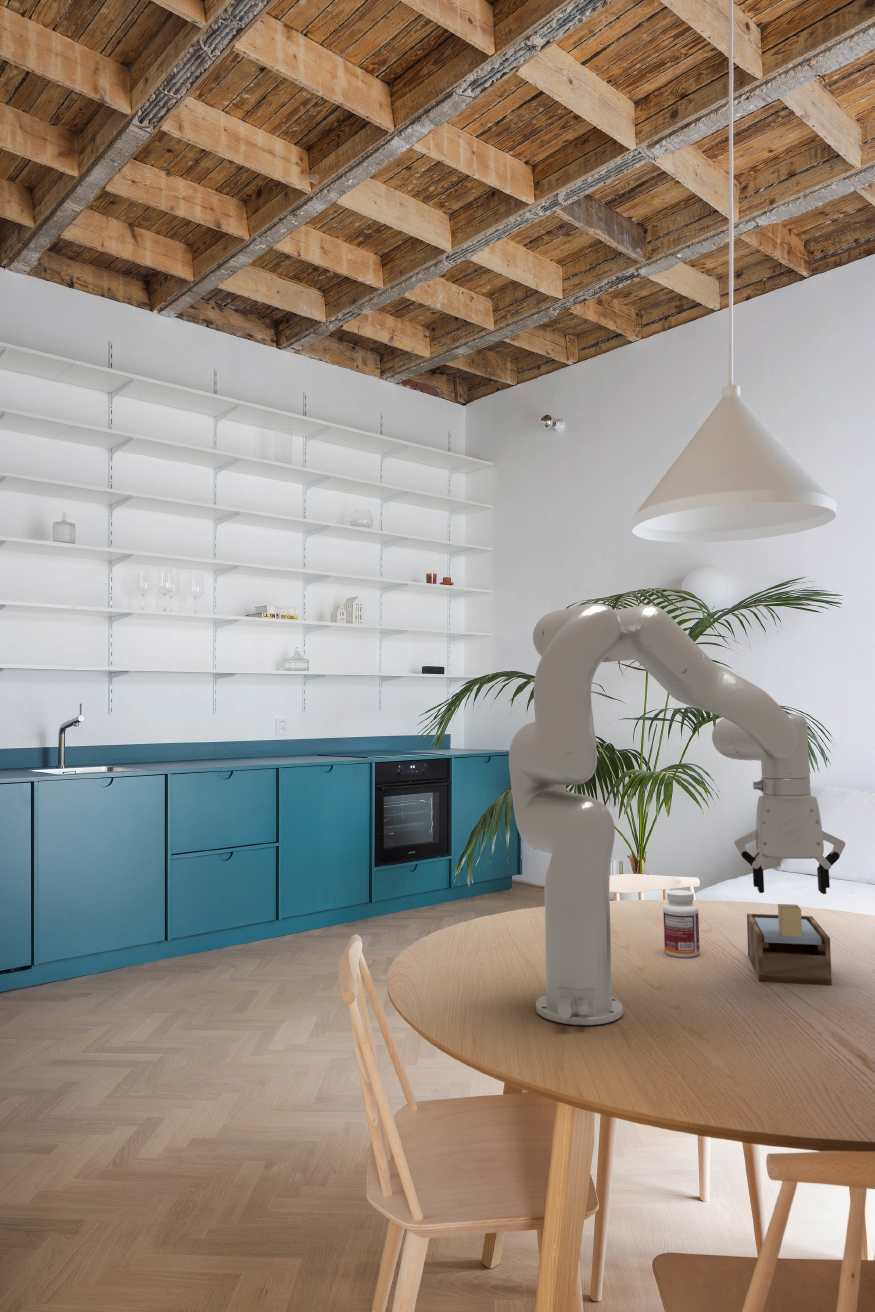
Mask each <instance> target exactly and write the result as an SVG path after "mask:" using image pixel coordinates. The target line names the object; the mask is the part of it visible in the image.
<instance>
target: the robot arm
mask: <svg viewBox="0 0 875 1312" xmlns="http://www.w3.org/2000/svg"><path fill="white" fill-rule="evenodd" d="M532 641H533V645H534V649H535V650H536V652H537V654H539V655H540V657H541V658H540V661H538V662H539V663H538V665H537V668H536V671H535V676H534V680H533V681H534V682H533V703H534V705H533V706H534V721H533V722H529V723H526V724H524V725H523V726H522V727H521V728H520V729H518V731H517V732H516V733H515V734H514V736H513V738H512V740H511V744H510V747H509V751H508V752H509V753H508V769H509V776H510V777H509V778H510V786H511V795H512V803H513V811H514V818H515V819H514V820H515V824H516V828H517V830H518V833H519V836H520V837H521V839H522V840H523V841H524V842H525V843H526V844H527V846H529V847H531V848H533V849H535V850H538V851H541V852H544V853H547V854H551V856H550V860H549V864H548V867H547V871H546V874H545V881H544V890H543V891H544V894H543V895H544V900H543V901H544V923H545V924H544V925H545V926H544V930H545V931H544V932H545V933H544V934H545V935H544V936H545V937H544V938H545V940H544V941H545V990H546V991H545V993H546V994H544V995H541V996H540V997H539V998H537V999H536V1000H535V1001H536V1002H535V1011H536V1013H537V1014H538V1015H539V1016H540V1017H542V1018H544V1019H547V1020H549V1021H551V1022H556V1023H560V1024H565V1025H573V1026H595V1025H598V1026H599V1025H603V1024H609V1023H611V1022H615V1021H617V1020H618V1019H620V1018H621V1017H622V1016H623V1013H624V1009H623V1007H624V1006H623V1004H622V1003H621V1001H620V1000H618V999H617V998H615V997H613V996H612V993H613V991H612V954H611V953H612V946H611V944H612V943H611V940H612V939H611V904H610V897H611V896H610V882H611V881H610V878H611V862H612V857H613V856H612V855H613V851H614V845H615V844H614V843H615V837H616V836H615V835H616V830H615V829H616V828H615V827H616V825H615V821H614V818H613V816H612V814H611V812H610V810H609V809H608V808H607V807H606V805H604V803H602V802H601V801H600V800H598V799H596V798H594V797H592V796H590V795H585V794H580V793H575V792H569V791H568V792H567V787H566V786H577V785H581V784H584V783H586V782H588V781H589V780H591V778H592V777H593V776H594V775H595V772H596V769H597V765H598V751H597V750H598V748H597V742H596V732H595V725H594V724H595V723H594V722H595V721H594V716H593V715H594V714H593V707H592V705H593V704H592V702H593V701H592V686H593V685H592V684H593V680H594V677H595V674H596V671H597V670H598V668H599V666H600V665H601V663H612V662H613V663H615V662H623V661H633V660H634V661H636V662H638V664H639V665H640V666H641V667H643V668H644V670H646V672H648V673H649V675H650V676H651V677H653V679H654V680H655V681H656V682H657V683H658V684H659V685H660V686H661V687H662V688H663V689H664V690H665V691H666V692H667V693H668V694H669V695H670V696H671V697H672V698H673V699H675V700H676V701H678V702H680V703H681V704H684V705H686V706H689V707H691V708H694V709H698V710H701V711H705V712H708V713H711V714H713V715H717V716H719V717H721V719H719V721H717V723H716V724H715V725H714V727H713V728H712V729H713V730H712V734H711V741H712V743H713V746H714V748H715V750H716V751H717V752H718V753H719V754H721V755H722V756H724V757H725V758H729V759H732V760H738V761H760V763H761V764H760V765H761V766H760V767H761V779H759V780H757V781H752V788H753V790H758V791H760V792H761V793H762V795H758V800H757V804H756V805H757V806H756V817H755V818H756V822H755V830H752V831H750V832H749V833H746V834H744V835H743V836H740V837H739V838H736V839H735V840H734V841H733V843H734V846H735V847H736V848H737V850H738V852H739V854H740V856H741V858H743V859H744V861H746V862H747V863H748V864H749V865H750V866H751V868H752V880H753V887H754V888H756V889H757V890H758V891H757V892H758V893H759V894H763V893H765V879H764V869H763V867H762V865H763V863H765V860H767V859H790V860H791V859H797V860H798V859H800V860H802V859H803V860H804V859H805V860H808V859H810V860H811V859H812V860H813V859H815V860H816V861H817V862H818V866H817V869H816V871H817V873H816V874H817V889H818V891H819V892H820V894H822V895H827V889H830V887H831V884H830V870H831V868H832V866H833V865H834V864H835V863H836V862H837V861H838V860H839V859H840V858H841V854H842V853H843V851H844V849H845V847H846V842H845V841H843V840H842V839H841V838H838V837H836V836H834V835H832V834H830V833H828V832H825V831H824V830H823V827H822V826H823V824H822V818H821V812H820V807H819V803H818V799H817V796H814V795H812V794H811V778H810V777H811V775H810V773H811V771H810V754H809V739H808V737H809V736H808V735H809V734H808V722H807V719H806V718H805V717H804V716H803V715H802V714H797V713H794V714H793V713H787V712H786V711H785V710H784V709H783V708H782V707H781V705H779V704H778V702H776V700H775V699H774V698H773V697H772V696H771V695H769V694H768V693H767V692H765V691H764V690H763V689H762V688H761V687H759V686H757V685H755V684H754V683H753V682H751V681H749V680H747V679H745V678H743V677H741V676H740V675H738V674H736V673H735V672H733V671H731V670H729V669H728V668H726V667H723V666H721V665H720V664H718V663H716V662H715V661H714V660H712V659H711V658H710V657H709V656H708V654H706V652H705V651H704V650H703V649H702V648H701V647H700V646H699V645H698V643H696V642H695V641H694V640H693V639H692V638H691V637H690V636H689V634H687V632H686V631H685V630H684V629H683V628H682V627H681V625H679V624H678V623H677V622H676V621H675V620H674V618H672V617H671V615H670V614H669V613H668V612H666V611H665V610H664V609H662V608H661V607H659V606H656V605H653V604H652V605H651V604H643V605H635V606H630V607H626V608H621V609H620V608H619V609H614V608H612V607H611V606H610V605H608V604H603V603H597V602H596V603H587V604H580V605H576V606H575V605H574V606H572V607H567V608H563V609H558V610H554V611H550V612H548V613H546V614H545V615H543V616H541V618H540V619H538V621H537V623H535V626H534V629H533V633H532ZM754 841H755V843H756V850H757V852H756V853H755V855H754V856H753V855H752V854H751V853H750V852H749V851H748V850H747V848H746V845H747V844H750V843H751V842H754ZM824 842H828V843H829V844H832V845H833V848H832V849H831V852H829V853H828V854H827V855H826V856H825V857H824V852H825V851H824V850H825V847H824V846H825V845H824Z"/></svg>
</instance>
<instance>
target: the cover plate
mask: <svg viewBox="0 0 875 1312" xmlns="http://www.w3.org/2000/svg"><path fill="white" fill-rule="evenodd" d="M777 911H778V913H777V915H778V918H756V917H754V920H755V922H756V924H757V926H758V928H759V930H760V932H761V934H762V939H763V941H764V942H769V943H791V944H813V945H822V939H821V937H820V936H819V935H818V933H817V932H816V931H815V930H814V928H813V927H812V926H811V925H810V923H809V922H808V921H807V920H806V919H801V916H802V908H800V906H799V905H798V904H791V903H789V904H787V903H777Z"/></svg>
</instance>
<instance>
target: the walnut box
mask: <svg viewBox="0 0 875 1312" xmlns="http://www.w3.org/2000/svg"><path fill="white" fill-rule="evenodd" d="M754 917H756V918H778V914H769V913H768V914H767V913H766V914H764V913H746V925H747V926H746V929H747V932H746V934H747V956H748V959H749V961H750V963H751V965H752V968H753V970H754V972H755V976H756V977H757V980H758V982H762V983H763V982H767V983H785V984H803V985H804V984H805V985H822V986H823V985H824V986H832V984H833V983H832V981H833V979H832V957H831V956H832V955H831V953H832V951H831V938H830V936H829V935H828V934H827V933H826V931H825V930H824V929H823V927H822V926H821V925H820V924H819V923H818V921H817V920H816V919H815V918H814V917H813V916H812V915H801V919H806V920H807V921H808V922H809V923H810V925H811V926H812V927H813V928H814V930H815V931H816V932H817V933H818V935H819V936H820V937H821V939H822V945H813V944H791V943H769V942H764V941H763V939H762V934H761V932H760V930H759V928H758V926H757V924H756V922H755V920H754Z"/></svg>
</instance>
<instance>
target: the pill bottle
mask: <svg viewBox="0 0 875 1312" xmlns="http://www.w3.org/2000/svg"><path fill="white" fill-rule="evenodd" d="M694 896H695V895H694V892H693V891H690V890H683V889H670V890H668V891H666V899H667V901H668V902H667V903H666V904H664V906H663V911H662V912H663V939H664V941H663V942H664V943H663V944H664V951H665V953H666V954H667V955H668V956H671V957H676V958H683V959H684V958H685V959H686V958H695V957H697V956H698V955H700V945H701V944H700V926H699V925H700V922H699V921H700V920H699V919H700V918H699V908H698V907H697V905H696V904H694V903H693V902H694Z"/></svg>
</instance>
